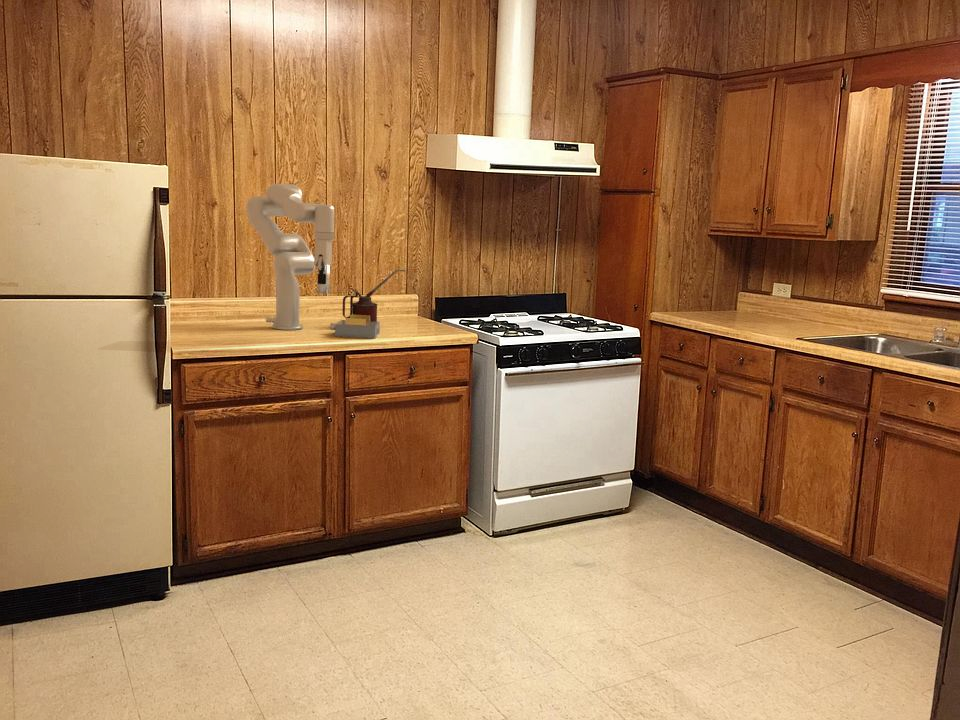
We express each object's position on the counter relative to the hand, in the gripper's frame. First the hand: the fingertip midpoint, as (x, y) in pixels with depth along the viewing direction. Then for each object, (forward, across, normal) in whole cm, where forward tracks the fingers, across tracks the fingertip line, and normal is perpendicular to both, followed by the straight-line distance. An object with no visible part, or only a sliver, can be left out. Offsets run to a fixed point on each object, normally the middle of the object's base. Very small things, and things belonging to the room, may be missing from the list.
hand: (323, 283), depth 331 cm
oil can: (+21, -34, +14) cm, 42 cm away
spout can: (+4, 0, 0) cm, 4 cm away
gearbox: (+21, -7, +11) cm, 25 cm away
